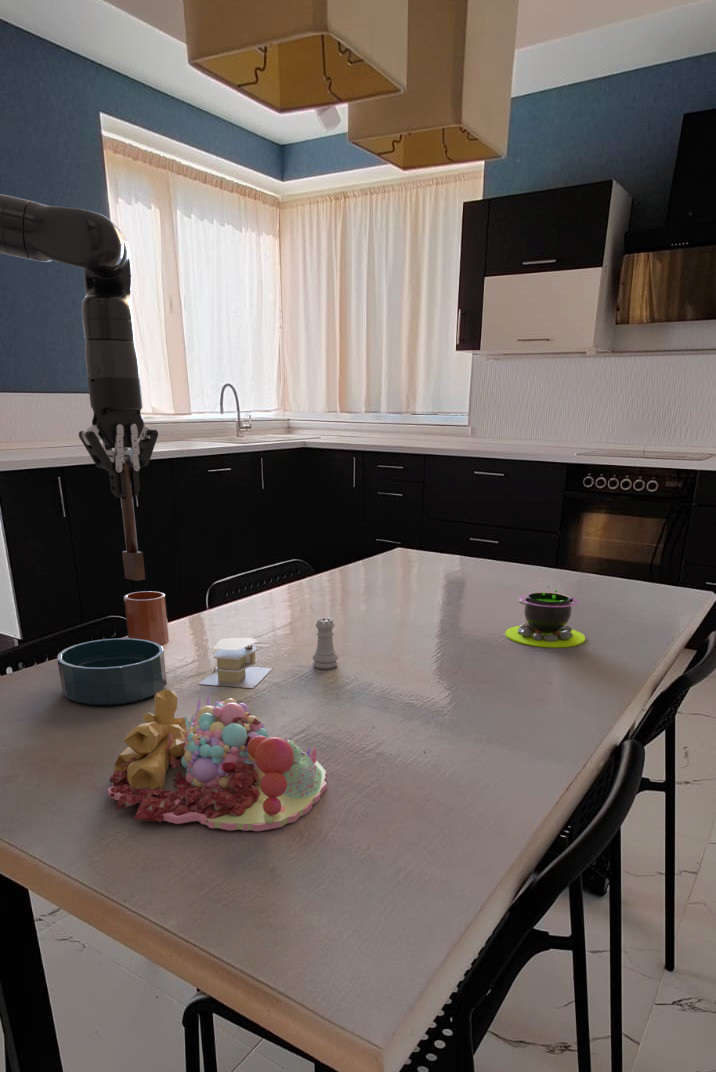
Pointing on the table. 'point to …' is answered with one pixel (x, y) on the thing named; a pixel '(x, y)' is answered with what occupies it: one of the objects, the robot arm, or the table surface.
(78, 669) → the bowl
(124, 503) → the stirring stick
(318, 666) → the rook chess piece
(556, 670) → the table surface
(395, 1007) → the table surface
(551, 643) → the toy cauldron
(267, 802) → the pastel sphere sculpture
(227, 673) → the stacked layers on plate
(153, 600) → the crock
